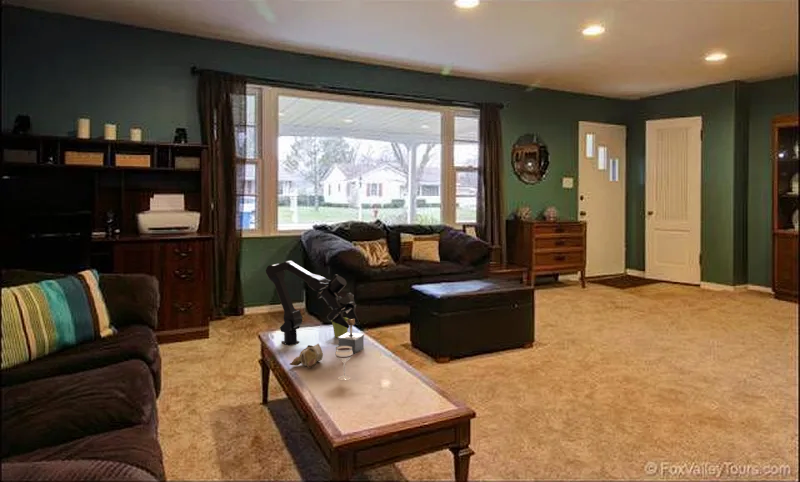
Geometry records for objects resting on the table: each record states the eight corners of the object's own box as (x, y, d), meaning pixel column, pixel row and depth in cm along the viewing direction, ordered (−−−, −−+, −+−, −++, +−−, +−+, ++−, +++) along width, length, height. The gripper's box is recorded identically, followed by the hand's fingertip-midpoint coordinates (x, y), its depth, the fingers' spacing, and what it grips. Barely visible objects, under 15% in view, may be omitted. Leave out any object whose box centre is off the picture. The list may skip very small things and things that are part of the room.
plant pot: (348, 339, 251) (348, 322, 250) (329, 339, 251) (329, 322, 250) (351, 334, 260) (351, 317, 260) (332, 334, 261) (332, 317, 260)
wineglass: (353, 374, 202) (353, 345, 201) (352, 381, 195) (352, 350, 194) (336, 375, 202) (336, 345, 201) (334, 381, 195) (334, 350, 194)
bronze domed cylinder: (345, 339, 231) (345, 319, 231) (349, 337, 235) (349, 317, 234) (352, 340, 230) (352, 320, 229) (356, 338, 233) (356, 318, 233)
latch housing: (338, 352, 231) (337, 337, 230) (349, 345, 240) (349, 331, 240) (355, 354, 227) (355, 339, 227) (366, 347, 237) (366, 333, 237)
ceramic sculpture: (328, 341, 217) (308, 353, 204) (330, 360, 219) (310, 373, 205) (308, 338, 222) (287, 350, 208) (309, 357, 223) (288, 370, 209)
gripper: (332, 291, 223) (355, 318, 220) (352, 284, 240) (373, 309, 237) (317, 307, 227) (339, 334, 224) (338, 299, 244) (358, 324, 241)
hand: (353, 325), depth 231 cm, fingers open, 9 cm apart
